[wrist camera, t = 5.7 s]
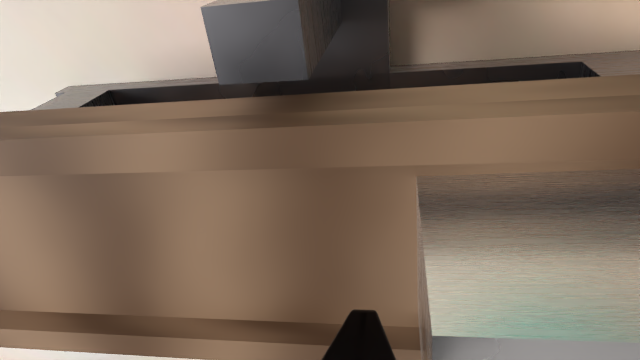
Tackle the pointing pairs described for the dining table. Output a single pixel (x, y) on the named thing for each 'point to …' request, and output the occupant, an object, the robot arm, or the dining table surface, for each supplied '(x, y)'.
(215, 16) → the stand
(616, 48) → the dining table surface
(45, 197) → the beam
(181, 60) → the dining table surface
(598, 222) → the rider
